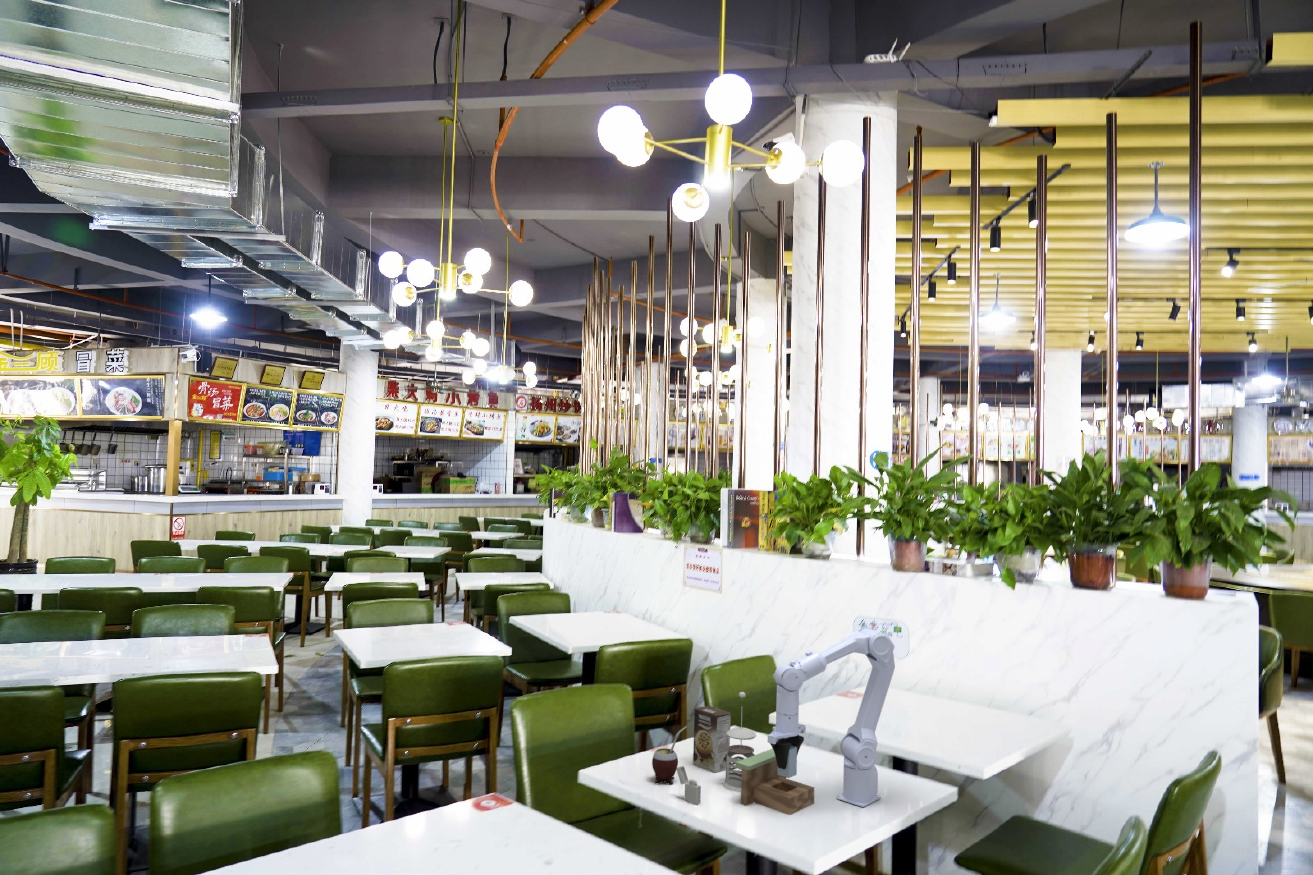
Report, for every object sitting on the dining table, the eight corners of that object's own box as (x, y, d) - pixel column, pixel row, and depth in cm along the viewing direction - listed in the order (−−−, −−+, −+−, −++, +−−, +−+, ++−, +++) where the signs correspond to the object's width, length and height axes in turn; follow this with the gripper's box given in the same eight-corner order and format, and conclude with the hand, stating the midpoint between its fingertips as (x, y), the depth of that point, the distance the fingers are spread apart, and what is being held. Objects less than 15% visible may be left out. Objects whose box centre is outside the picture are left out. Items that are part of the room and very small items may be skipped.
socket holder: (775, 784, 226) (776, 747, 226) (821, 799, 216) (822, 760, 217) (734, 801, 213) (735, 762, 213) (781, 818, 203) (782, 777, 203)
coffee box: (691, 764, 240) (693, 708, 241) (707, 760, 244) (708, 704, 245) (714, 773, 233) (716, 715, 234) (730, 768, 238) (731, 711, 239)
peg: (785, 771, 215) (785, 743, 216) (796, 774, 213) (797, 747, 213) (777, 774, 213) (778, 746, 213) (788, 778, 210) (789, 750, 211)
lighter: (700, 803, 211) (701, 771, 212) (696, 805, 210) (697, 772, 211) (679, 795, 216) (680, 764, 217) (675, 797, 215) (676, 765, 215)
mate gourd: (646, 779, 227) (648, 724, 228) (668, 774, 232) (670, 719, 233) (663, 788, 221) (665, 731, 222) (686, 782, 226) (687, 726, 227)
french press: (756, 793, 219) (758, 697, 220) (713, 789, 221) (715, 694, 223) (759, 780, 229) (761, 689, 230) (717, 776, 231) (720, 685, 232)
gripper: (790, 704, 222) (789, 756, 221) (758, 714, 211) (757, 768, 210) (812, 710, 217) (811, 762, 216) (781, 720, 206) (780, 776, 206)
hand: (786, 766), depth 213 cm, fingers closed on peg, 3 cm apart
